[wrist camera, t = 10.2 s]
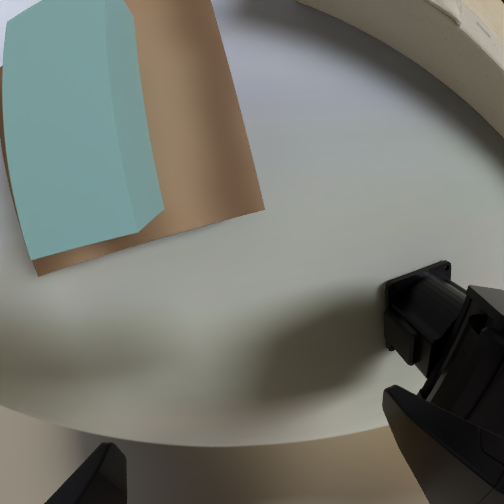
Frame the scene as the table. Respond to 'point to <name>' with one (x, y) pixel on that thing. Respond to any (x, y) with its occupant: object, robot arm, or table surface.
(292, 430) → the table surface
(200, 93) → the stand
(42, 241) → the block
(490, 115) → the box
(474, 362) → the robot arm
